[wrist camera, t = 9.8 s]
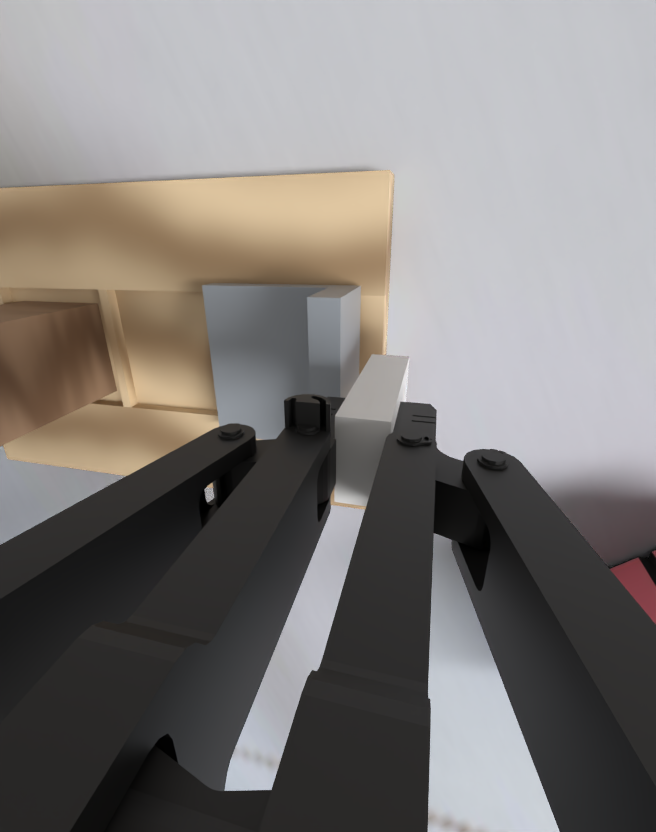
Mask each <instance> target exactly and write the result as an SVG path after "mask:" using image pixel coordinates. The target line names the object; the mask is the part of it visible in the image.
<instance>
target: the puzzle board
mask: <svg viewBox="0 0 656 832" xmlns="http://www.w3.org/2000/svg"><path fill="white" fill-rule="evenodd" d="M393 193H394V174H393V173H392V172H391V171H390V170H382V171H360V172H339V173H317V174H295V175H274V176H252V177H230V178H208V179H187V180H165V181H143V182H121V183H100V184H78V185H56V186H35V187H13V188H0V305H1V304H7V303H14V302H20V301H40V302H72V303H98V306H99V311H100V315H101V320H102V324H103V329H104V333H105V338H106V342H107V347H108V351H109V356H110V361H111V365H112V370H113V374H114V379H115V383H116V388H117V391H116V392H113V393H111V394H109V395H107V396H105V397H103V398H101V399H99V400H97V401H95V402H93V403H90V404H88V405H86V406H84V407H82V408H80V409H78V410H76V411H74V412H72V413H69V414H67V415H65V416H63V417H61V418H59V419H57V420H55V421H53V422H51V423H48V424H46V425H44V426H42V427H40V428H38V429H36V430H34V431H32V432H30V433H27V434H25V435H23V436H21V437H19V438H17V439H15V440H13V441H11V442H9V443H6V444H4V445H3V447H4V450H5V453H6V455H7V458H8V459H10V460H17V461H24V462H31V463H39V464H46V465H53V466H60V467H67V468H74V469H81V470H88V471H95V472H102V473H110V474H117V475H124V476H128V475H130V474H131V473H133V472H135V471H137V470H139V469H141V468H143V467H144V466H146V465H148V464H150V463H152V462H154V461H155V460H157V459H159V458H161V457H163V456H165V455H166V454H168V453H170V452H172V451H174V450H176V449H177V448H179V447H181V446H183V445H185V444H187V443H188V442H190V441H192V440H194V439H196V438H198V437H199V436H201V435H203V434H205V433H207V432H209V431H210V430H212V429H214V428H217V427H219V419H218V411H217V403H216V395H215V387H214V379H213V371H212V362H211V354H210V346H209V338H208V330H207V322H206V314H205V306H204V297H203V289H202V285H206V284H211V283H240V284H298V285H356V286H361V306H360V354H359V375H360V373H361V372H362V370H363V368H364V367H365V365H366V363H367V362H368V360H369V358H370V357H371V355H372V354H376V355H386V344H387V322H388V301H389V279H390V258H391V236H392V215H393ZM256 440H263V439H256ZM207 487H209V488H213V483H211V484H210V485H208V486H207ZM331 505H337V506H344V507H351V508H358V509H366V506H360V505H353V504H346V503H339V502H334V489H333V491H332V494H331Z"/></svg>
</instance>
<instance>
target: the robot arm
mask: <svg viewBox="0 0 656 832" xmlns="http://www.w3.org/2000/svg"><path fill="white" fill-rule="evenodd" d="M408 367H409V357H408V356H392V355H376V354H372V355H371V357H370V358H369V360H368V362H367V363H366V365H365V367H364V368H363V370H362V372H361V373H360V375H359V377H358V378H357V380H356V382H355V383H354V385H353V387H352V388H351V390H350V392H349V393H348V395H347V397H346V398H340V397H329V396H328V397H324V396H321V395H315V394H301V395H295V396H291V397H288V398H287V399H285V400H284V415H285V428H284V429H283V431H282V432H281V433H280V434H279V436H278V437H277V438H276V439H267V440H256V432H255V430H254V429H253V428H252V427H250V426H248V425H242V424H239V423H234V424H233V423H230V424H227V425H224V426H219V427H217V428H214V429H212V430H210V431H209V432H207V433H205V434H203V435H201V436H199V437H198V438H196V439H194V440H192V441H190V442H188V443H187V444H185V445H183V446H181V447H179V448H177V449H176V450H174V451H172V452H170V453H168V454H166V455H165V456H163V457H161V458H159V459H157V460H155V461H154V462H152V463H150V464H148V465H146V466H144V467H143V468H141V469H139V470H137V471H135V472H133V473H131V474H130V475H128V476H126V477H124V478H122V479H120V480H119V481H117V482H115V483H113V484H111V485H109V486H108V487H106V488H104V489H102V490H100V491H98V492H97V493H95V494H93V495H91V496H89V497H87V498H86V499H84V500H82V501H80V502H78V503H76V504H75V505H73V506H71V507H69V508H67V509H65V510H64V511H62V512H60V513H58V514H56V515H54V516H53V517H51V518H49V519H47V520H45V521H43V522H42V523H40V524H38V525H36V526H34V527H32V528H31V529H29V530H27V531H25V532H23V533H21V534H20V535H18V536H16V537H14V538H12V539H10V540H9V541H7V542H5V543H3V544H1V545H0V832H427V828H428V792H429V757H430V713H431V708H430V699H428V671H429V643H430V615H431V588H432V560H433V533H436V534H439V535H441V536H444V537H446V538H449V539H452V550H453V553H454V556H455V558H456V561H457V564H458V566H459V569H460V571H461V574H462V577H463V579H464V582H465V584H466V587H467V590H468V592H469V595H470V598H471V600H472V603H473V605H474V608H475V611H476V613H477V616H478V619H479V621H480V624H481V626H482V629H483V632H484V634H485V637H486V639H487V642H488V645H489V647H490V650H491V653H492V655H493V658H494V660H495V663H496V666H497V668H498V671H499V673H500V676H501V679H502V681H503V684H504V687H505V689H506V692H507V694H508V697H509V700H510V702H511V705H512V708H513V710H514V713H515V715H516V718H517V721H518V723H519V726H520V728H521V731H522V734H523V736H524V739H525V742H526V744H527V747H528V749H529V752H530V755H531V757H532V760H533V763H534V765H535V768H536V770H537V773H538V776H539V778H540V781H541V783H542V786H543V789H544V791H545V794H546V797H547V799H548V802H549V804H550V807H551V810H552V812H553V815H554V818H555V820H556V823H557V825H558V828H559V831H560V832H656V624H655V623H654V622H653V620H652V619H651V618H650V617H649V616H648V614H647V613H646V612H645V611H644V610H643V608H642V607H641V606H640V605H639V604H638V602H637V601H636V600H635V599H634V598H633V596H632V595H631V594H630V593H629V592H628V590H627V589H626V588H625V587H624V586H623V584H622V583H621V582H620V581H619V580H618V578H617V577H616V576H615V575H614V574H613V572H612V571H611V570H610V569H609V568H608V566H607V565H606V564H605V563H604V562H603V560H602V559H601V558H600V557H599V556H598V554H597V553H596V552H595V551H594V550H593V548H592V547H591V546H590V545H589V544H588V542H587V541H586V540H585V539H584V538H583V536H582V535H581V534H580V533H579V532H578V530H577V529H576V528H575V527H574V526H573V524H572V523H571V522H570V521H569V520H568V518H567V517H566V516H565V515H564V514H563V512H562V511H561V510H560V509H559V508H558V506H557V505H556V504H555V503H554V502H553V500H552V499H551V498H550V497H549V496H548V494H547V493H546V492H545V491H544V490H543V488H542V487H541V486H540V485H539V484H538V482H537V481H536V480H535V479H534V478H533V476H532V475H531V474H530V473H529V472H528V470H527V469H526V468H525V467H524V466H523V464H522V463H521V462H520V461H519V460H517V459H516V458H515V457H513V456H511V455H509V454H507V453H505V452H503V451H498V450H495V449H490V450H488V449H480V450H473V451H471V452H468V453H467V454H466V455H465V456H464V461H461V460H457V459H454V458H452V457H449V456H447V455H445V454H443V453H442V452H440V451H439V450H438V449H437V443H436V440H435V439H436V409H435V408H434V407H433V406H432V405H431V404H422V403H411V402H406V393H407V380H408ZM211 483H213V491H214V499H213V500H211V501H210V502H207V501H206V498H205V491H204V489H205V488H206V487H207V486H208V485H210V484H211ZM333 489H334V502H339V503H346V504H353V505H360V506H366V509H365V513H364V516H363V520H362V523H361V527H360V530H359V534H358V537H357V540H356V544H355V547H354V551H353V554H352V558H351V561H350V565H349V568H348V572H347V575H346V579H345V582H344V586H343V589H342V593H341V596H340V599H339V603H338V606H337V610H336V613H335V617H334V620H333V624H332V627H331V631H330V634H329V638H328V641H327V645H326V648H325V652H324V655H323V658H322V661H321V664H320V667H319V669H318V671H313V670H312V671H311V673H310V675H309V676H308V678H307V680H306V683H305V686H304V689H303V691H302V694H301V697H300V701H299V704H298V707H297V710H296V713H295V717H294V720H293V723H292V726H291V729H290V733H289V736H288V739H287V742H286V745H285V749H284V752H283V755H282V758H281V762H280V765H279V768H278V771H277V774H276V778H275V781H274V784H273V787H272V790H256V791H224V789H225V782H226V776H227V771H228V767H229V763H230V760H231V757H232V754H233V751H234V749H235V746H236V744H237V741H238V739H239V736H240V734H241V731H242V729H243V727H244V724H245V722H246V719H247V717H248V714H249V712H250V709H251V707H252V704H253V702H254V699H255V697H256V694H257V692H258V689H259V687H260V684H261V682H262V679H263V677H264V674H265V672H266V670H267V667H268V665H269V662H270V660H271V657H272V655H273V652H274V650H275V647H276V645H277V642H278V640H279V637H280V635H281V632H282V630H283V627H284V625H285V622H286V620H287V617H288V615H289V613H290V610H291V608H292V605H293V603H294V600H295V598H296V595H297V593H298V590H299V588H300V585H301V583H302V580H303V578H304V575H305V573H306V570H307V568H308V565H309V563H310V560H311V558H312V556H313V553H314V551H315V548H316V546H317V543H318V541H319V538H320V536H321V533H322V531H323V528H324V526H325V523H326V521H327V518H328V516H329V513H330V508H331V494H332V491H333Z"/></svg>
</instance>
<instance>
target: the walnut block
mask: <svg viewBox="0 0 656 832" xmlns="http://www.w3.org/2000/svg"><path fill="white" fill-rule="evenodd" d="M116 391H117V388H116V383H115V379H114V374H113V370H112V365H111V361H110V356H109V351H108V347H107V342H106V338H105V333H104V329H103V324H102V320H101V315H100V311H99V306H98V303H72V302H40V301H20V302H14V303H7V304H1V305H0V446H2V445H4V444H6V443H9V442H11V441H13V440H15V439H17V438H19V437H21V436H23V435H25V434H27V433H30V432H32V431H34V430H36V429H38V428H40V427H42V426H44V425H46V424H48V423H51V422H53V421H55V420H57V419H59V418H61V417H63V416H65V415H67V414H69V413H72V412H74V411H76V410H78V409H80V408H82V407H84V406H86V405H88V404H90V403H93V402H95V401H97V400H99V399H101V398H103V397H105V396H107V395H109V394H111V393H113V392H116Z"/></svg>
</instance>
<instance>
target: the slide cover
mask: <svg viewBox="0 0 656 832" xmlns="http://www.w3.org/2000/svg"><path fill="white" fill-rule="evenodd" d="M202 289H203V297H204V306H205V314H206V322H207V330H208V338H209V346H210V354H211V362H212V371H213V379H214V387H215V395H216V403H217V411H218V419H219V426H224V425H227V424H230V423H233V424H234V423H239V424H242V425H248V426H250V427H252V428H253V429H254V430H255V432H256V439H263V440H267V439H276V438H277V437H278V436H279V434H280V433H281V432H282V431H283V429H284V428H285V415H284V400H285V399H287V398H288V397H291V396H295V395H301V394H315V395H321V396H324V397H328V396H329V397H340V398H346V397H347V395H348V393H349V392H350V390H351V388H352V387H353V385H354V383H355V382H356V380H357V378H358V377H359V354H360V306H361V286H356V285H298V284H240V283H211V284H206V285H202Z"/></svg>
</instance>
